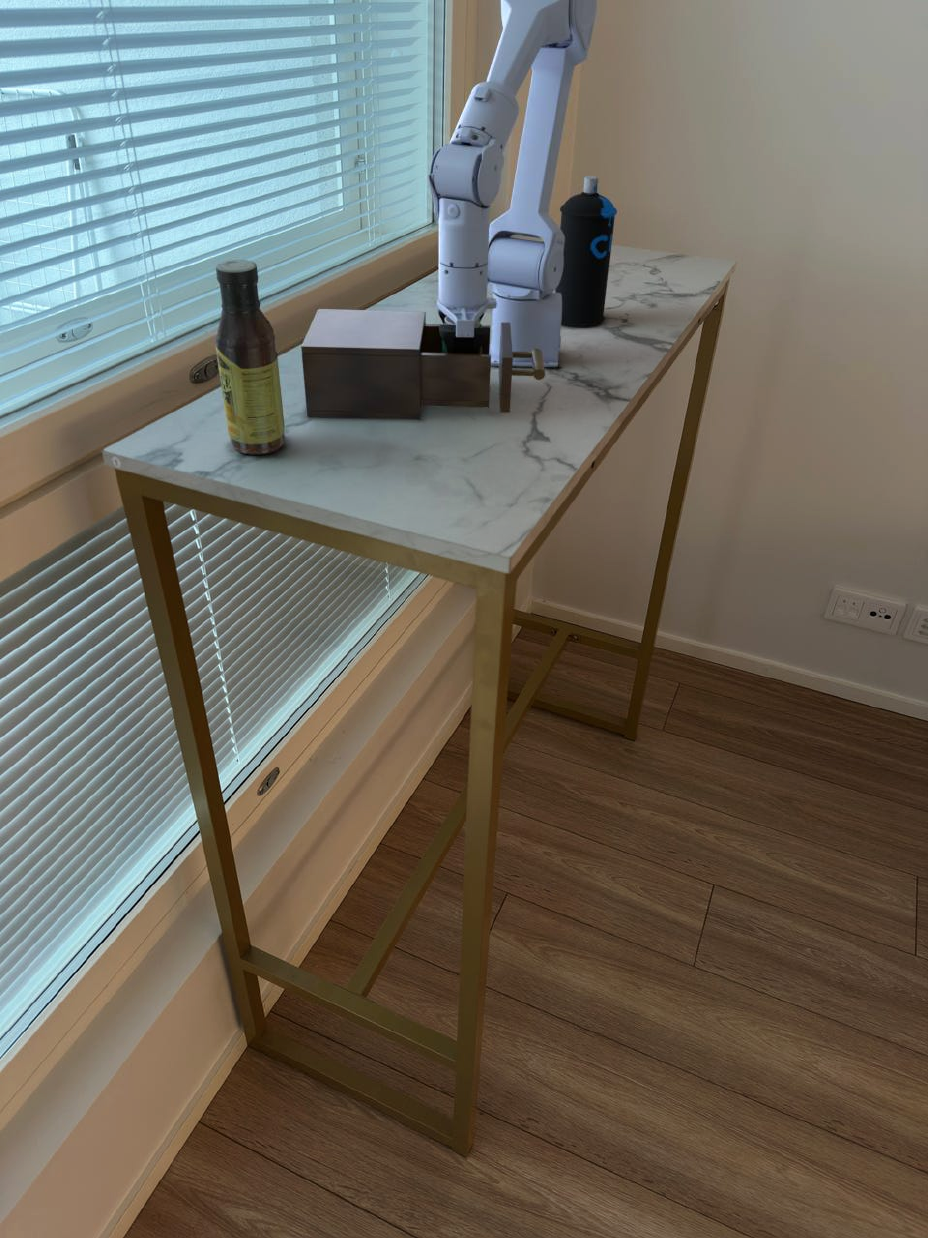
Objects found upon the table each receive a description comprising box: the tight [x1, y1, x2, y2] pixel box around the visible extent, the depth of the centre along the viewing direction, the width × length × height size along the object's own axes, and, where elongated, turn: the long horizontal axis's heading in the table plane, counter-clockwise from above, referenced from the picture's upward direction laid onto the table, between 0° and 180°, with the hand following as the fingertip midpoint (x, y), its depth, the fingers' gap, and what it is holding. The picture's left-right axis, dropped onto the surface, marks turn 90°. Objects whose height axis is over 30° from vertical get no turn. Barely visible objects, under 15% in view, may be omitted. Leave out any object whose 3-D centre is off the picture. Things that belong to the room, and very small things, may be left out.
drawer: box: [420, 323, 546, 414], centre depth 111 cm, size 17×12×7 cm
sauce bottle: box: [214, 259, 286, 456], centre depth 96 cm, size 6×6×20 cm
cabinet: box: [300, 308, 427, 421], centre depth 111 cm, size 14×14×9 cm
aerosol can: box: [554, 175, 618, 328], centre depth 134 cm, size 8×8×20 cm
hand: (461, 375), depth 112 cm, fingers closed on can, 5 cm apart
